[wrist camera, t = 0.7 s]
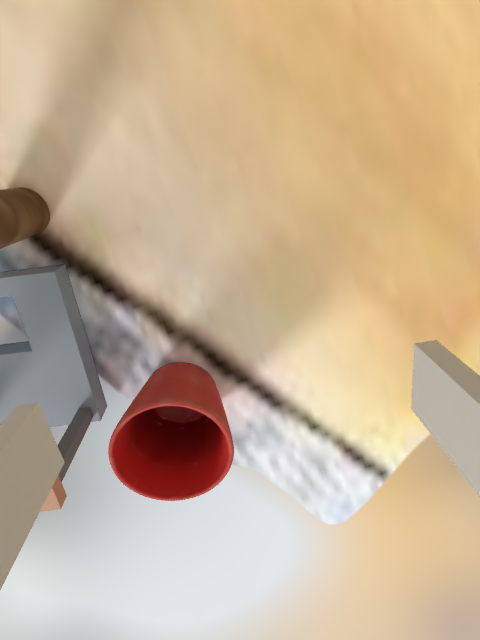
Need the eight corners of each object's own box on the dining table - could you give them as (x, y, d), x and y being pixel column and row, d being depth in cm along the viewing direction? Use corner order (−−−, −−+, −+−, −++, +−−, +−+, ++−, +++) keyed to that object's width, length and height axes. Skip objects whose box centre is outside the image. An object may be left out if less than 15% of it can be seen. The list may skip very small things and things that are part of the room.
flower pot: (109, 385, 40) (78, 449, 31) (190, 329, 38) (182, 380, 29) (172, 446, 44) (161, 519, 35) (249, 398, 42) (258, 463, 33)
